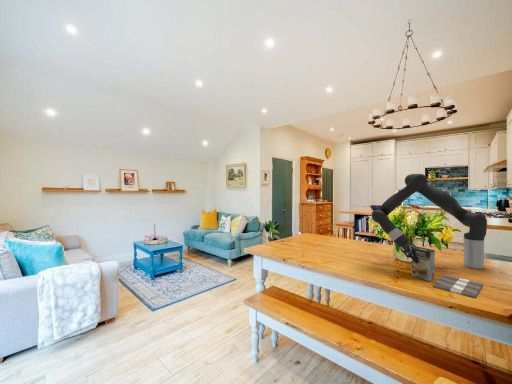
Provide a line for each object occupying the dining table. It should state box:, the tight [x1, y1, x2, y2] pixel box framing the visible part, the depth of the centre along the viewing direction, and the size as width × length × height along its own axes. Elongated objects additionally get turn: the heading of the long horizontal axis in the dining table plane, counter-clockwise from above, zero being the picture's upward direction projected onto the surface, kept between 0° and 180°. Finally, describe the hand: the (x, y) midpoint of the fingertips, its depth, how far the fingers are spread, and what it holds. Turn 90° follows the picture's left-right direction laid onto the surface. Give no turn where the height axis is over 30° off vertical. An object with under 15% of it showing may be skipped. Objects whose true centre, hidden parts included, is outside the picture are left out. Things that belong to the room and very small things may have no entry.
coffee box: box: [411, 246, 436, 282], centre depth 130 cm, size 9×6×16 cm
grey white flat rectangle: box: [432, 274, 484, 299], centre depth 119 cm, size 20×16×1 cm
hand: (420, 260), depth 131 cm, fingers open, 8 cm apart
